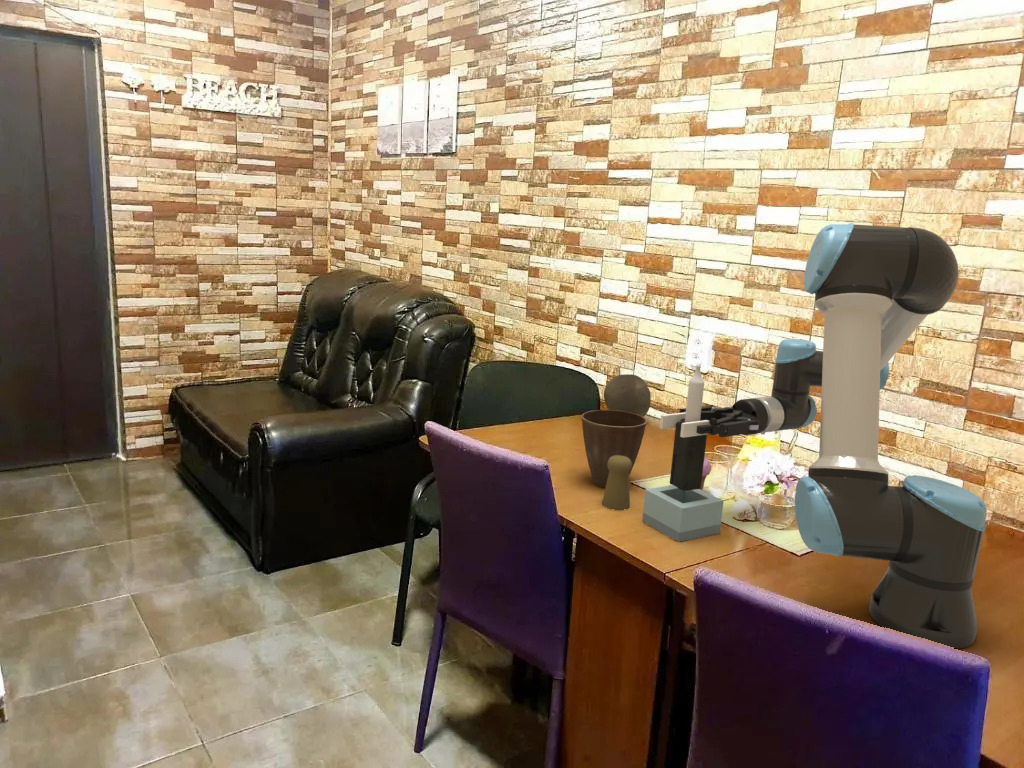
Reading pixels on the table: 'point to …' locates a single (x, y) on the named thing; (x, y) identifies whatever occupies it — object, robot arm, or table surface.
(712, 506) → the holder
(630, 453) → the plant pot
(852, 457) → the robot arm
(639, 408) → the dark grey round ball
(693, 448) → the candle
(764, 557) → the table surface
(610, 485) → the olive pawn
